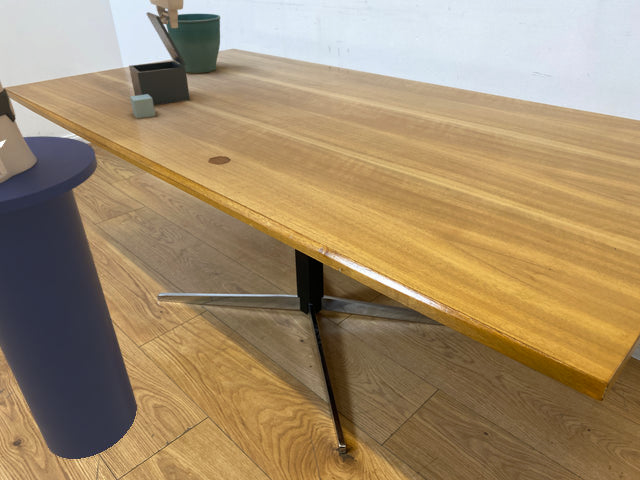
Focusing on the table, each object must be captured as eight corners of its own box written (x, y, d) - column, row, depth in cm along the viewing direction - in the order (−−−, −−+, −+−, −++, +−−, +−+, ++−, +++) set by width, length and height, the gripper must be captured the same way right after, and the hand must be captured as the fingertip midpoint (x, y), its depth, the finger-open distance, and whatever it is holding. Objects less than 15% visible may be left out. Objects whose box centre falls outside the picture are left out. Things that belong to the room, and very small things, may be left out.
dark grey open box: (144, 106, 130) (137, 72, 125) (135, 97, 137) (128, 65, 133) (190, 100, 135) (185, 67, 130) (179, 91, 143) (174, 60, 138)
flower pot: (227, 74, 162) (221, 19, 154) (171, 77, 159) (162, 21, 150) (224, 63, 177) (218, 12, 169) (173, 66, 174) (165, 14, 165)
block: (137, 118, 121) (133, 100, 118) (133, 114, 124) (129, 96, 122) (155, 115, 122) (152, 98, 120) (151, 111, 126) (147, 94, 123)
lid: (156, 17, 122) (173, 7, 123) (145, 13, 129) (162, 4, 130) (183, 66, 130) (199, 56, 131) (172, 59, 138) (187, 50, 139)
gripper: (137, -35, 128) (147, 22, 135) (157, -33, 113) (167, 31, 120) (161, -35, 131) (170, 20, 138) (184, -34, 116) (192, 29, 123)
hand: (169, 25), depth 129 cm, fingers open, 8 cm apart
